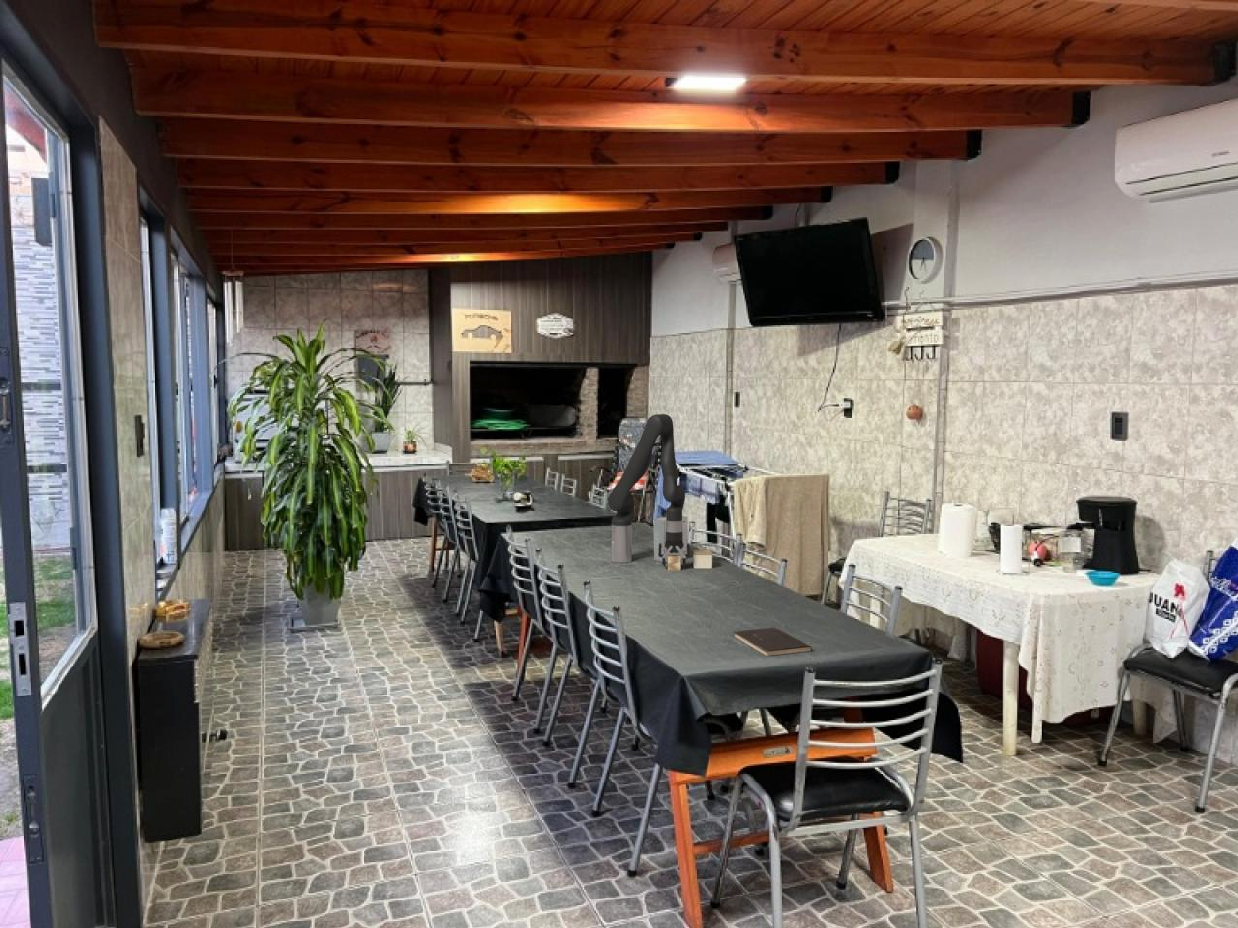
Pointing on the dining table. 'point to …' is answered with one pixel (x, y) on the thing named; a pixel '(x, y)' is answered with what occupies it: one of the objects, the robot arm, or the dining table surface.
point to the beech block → (673, 562)
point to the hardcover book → (772, 641)
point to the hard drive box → (661, 537)
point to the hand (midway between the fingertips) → (674, 566)
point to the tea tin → (702, 558)
